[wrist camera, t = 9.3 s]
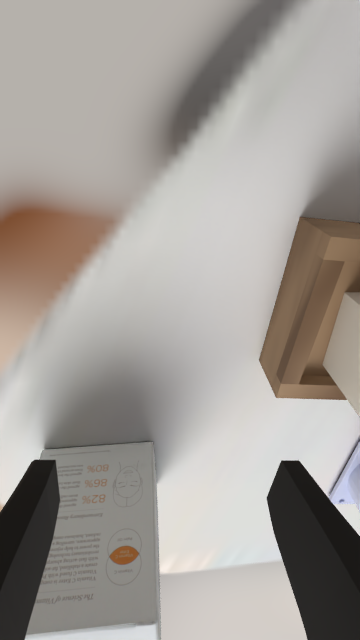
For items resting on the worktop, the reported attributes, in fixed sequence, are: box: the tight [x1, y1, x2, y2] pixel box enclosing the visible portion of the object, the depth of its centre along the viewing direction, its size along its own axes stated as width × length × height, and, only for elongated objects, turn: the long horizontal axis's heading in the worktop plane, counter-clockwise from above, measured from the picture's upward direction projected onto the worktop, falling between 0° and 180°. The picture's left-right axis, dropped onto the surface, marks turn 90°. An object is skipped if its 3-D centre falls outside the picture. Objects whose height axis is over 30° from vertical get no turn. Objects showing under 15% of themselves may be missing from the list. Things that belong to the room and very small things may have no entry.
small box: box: [25, 442, 161, 640], centre depth 21 cm, size 8×6×10 cm
